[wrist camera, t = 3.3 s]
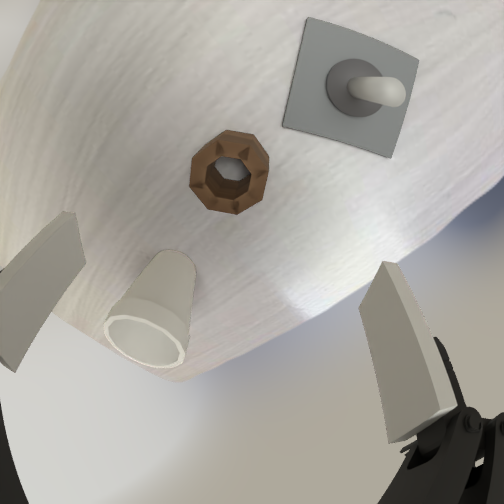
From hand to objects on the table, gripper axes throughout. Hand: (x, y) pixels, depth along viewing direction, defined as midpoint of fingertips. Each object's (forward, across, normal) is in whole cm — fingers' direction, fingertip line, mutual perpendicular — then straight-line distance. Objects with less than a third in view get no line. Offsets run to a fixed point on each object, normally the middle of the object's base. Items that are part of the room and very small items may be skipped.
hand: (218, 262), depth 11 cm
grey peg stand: (+19, +9, +9) cm, 23 cm away
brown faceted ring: (+20, -2, -2) cm, 20 cm away
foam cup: (+20, -8, -18) cm, 28 cm away
